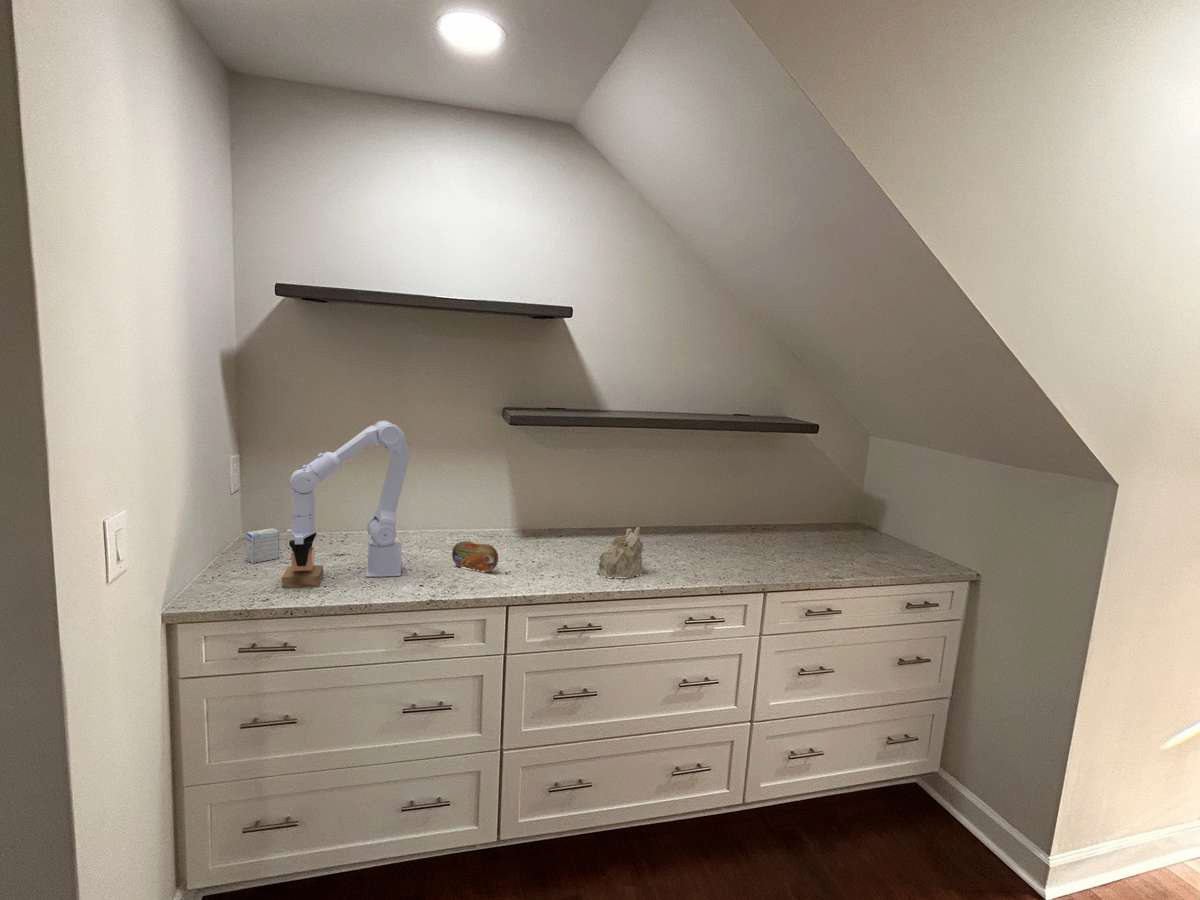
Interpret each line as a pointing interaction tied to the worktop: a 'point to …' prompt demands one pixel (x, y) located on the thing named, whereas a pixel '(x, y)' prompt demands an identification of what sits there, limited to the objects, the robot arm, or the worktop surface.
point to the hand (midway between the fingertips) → (303, 562)
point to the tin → (475, 556)
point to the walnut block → (302, 577)
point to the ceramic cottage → (622, 556)
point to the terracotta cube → (308, 565)
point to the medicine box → (262, 545)
